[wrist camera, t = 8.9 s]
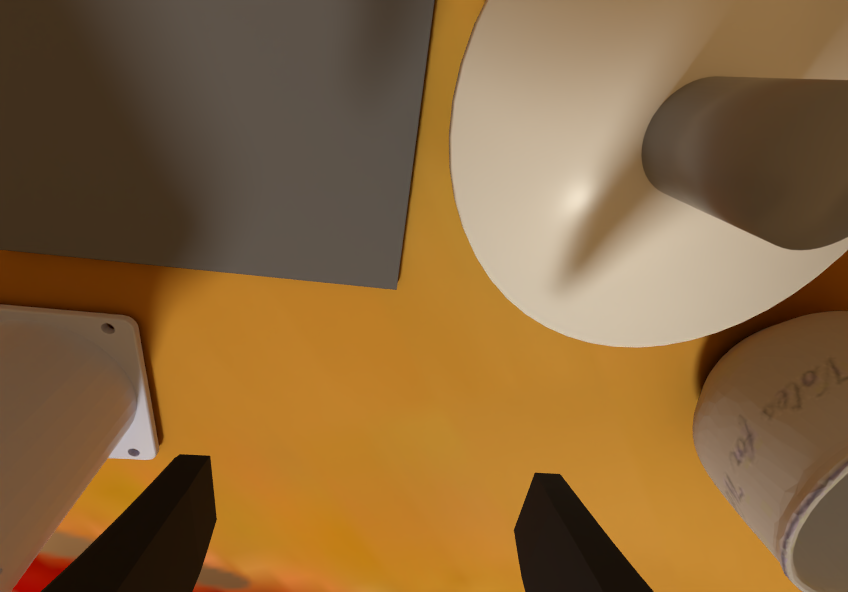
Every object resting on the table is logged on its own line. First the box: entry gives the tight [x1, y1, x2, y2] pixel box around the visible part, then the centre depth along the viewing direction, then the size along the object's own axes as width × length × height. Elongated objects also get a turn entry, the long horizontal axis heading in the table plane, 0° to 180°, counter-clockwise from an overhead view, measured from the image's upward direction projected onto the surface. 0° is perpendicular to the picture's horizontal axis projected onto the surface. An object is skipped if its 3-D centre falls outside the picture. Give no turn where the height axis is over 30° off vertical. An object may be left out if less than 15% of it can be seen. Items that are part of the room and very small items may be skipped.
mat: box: [0, 0, 434, 290], centre depth 14 cm, size 15×15×1 cm
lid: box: [449, 0, 848, 347], centre depth 10 cm, size 13×13×5 cm
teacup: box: [693, 311, 848, 592], centre depth 19 cm, size 14×11×8 cm
